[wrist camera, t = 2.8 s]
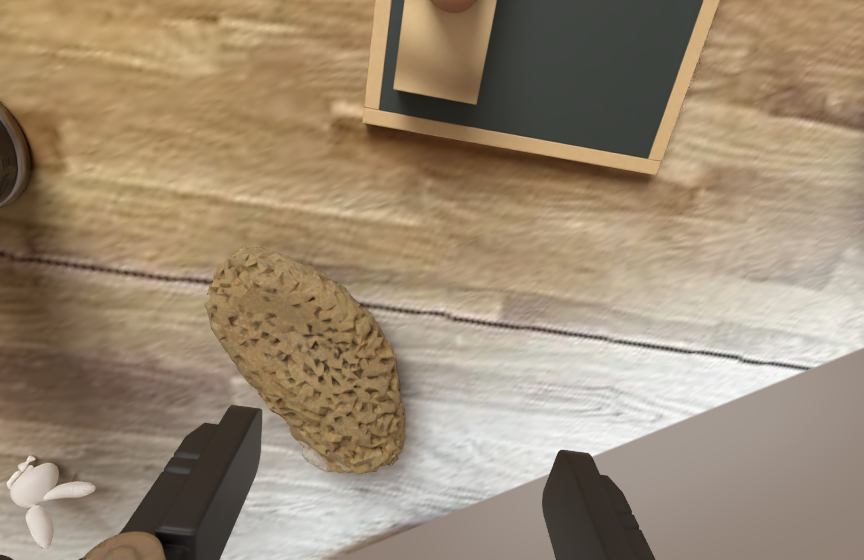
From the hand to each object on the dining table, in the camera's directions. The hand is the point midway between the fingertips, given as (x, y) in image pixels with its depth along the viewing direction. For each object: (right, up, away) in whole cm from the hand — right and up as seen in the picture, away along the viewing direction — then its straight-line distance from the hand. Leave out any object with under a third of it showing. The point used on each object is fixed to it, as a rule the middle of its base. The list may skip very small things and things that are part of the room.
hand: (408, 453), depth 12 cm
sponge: (-9, -1, +27) cm, 28 cm away
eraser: (+2, +22, +16) cm, 27 cm away
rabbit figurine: (-35, -14, +32) cm, 50 cm away
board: (+8, +22, +17) cm, 29 cm away
